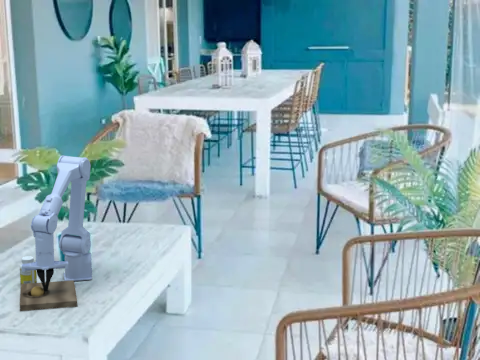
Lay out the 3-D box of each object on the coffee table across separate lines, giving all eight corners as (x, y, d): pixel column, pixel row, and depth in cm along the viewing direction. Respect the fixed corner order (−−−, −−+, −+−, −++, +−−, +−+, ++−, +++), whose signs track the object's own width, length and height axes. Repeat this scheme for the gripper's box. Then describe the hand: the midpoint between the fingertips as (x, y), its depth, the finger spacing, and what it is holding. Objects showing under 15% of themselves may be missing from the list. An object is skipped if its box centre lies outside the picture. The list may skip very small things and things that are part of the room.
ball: (27, 293, 216) (36, 301, 217) (29, 292, 213) (38, 300, 213) (36, 284, 218) (44, 292, 219) (38, 283, 214) (47, 291, 215)
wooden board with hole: (73, 285, 227) (73, 280, 227) (77, 306, 211) (77, 300, 210) (20, 289, 222) (20, 284, 222) (19, 311, 206) (19, 305, 205)
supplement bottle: (31, 280, 230) (30, 254, 228) (39, 284, 227) (39, 257, 225) (17, 284, 226) (16, 257, 224) (26, 288, 223) (25, 261, 221)
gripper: (21, 256, 207) (22, 296, 210) (68, 253, 211) (69, 292, 214) (21, 249, 213) (22, 288, 216) (67, 246, 218) (68, 284, 221)
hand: (45, 290), depth 216 cm, fingers closed
